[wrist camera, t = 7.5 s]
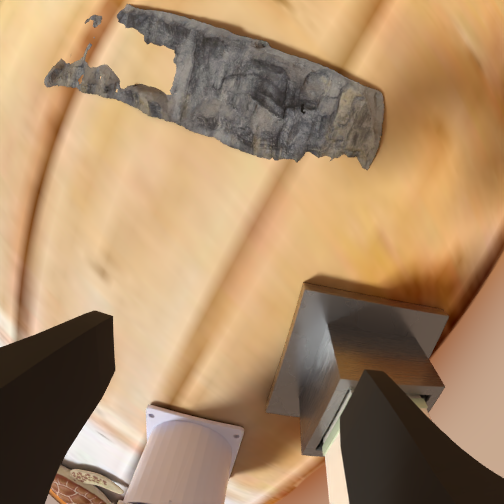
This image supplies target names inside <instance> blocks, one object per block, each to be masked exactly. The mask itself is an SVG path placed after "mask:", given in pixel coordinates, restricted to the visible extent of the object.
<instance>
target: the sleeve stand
mask: <svg viewBox="0 0 504 504" xmlns="http://www.w3.org/2000/svg"><path fill="white" fill-rule="evenodd" d="M448 318H449V315H448V314H447V313H446V312H445V311H444V310H443V309H439V308H433V307H428V306H423V305H417V304H412V303H406V302H401V301H396V300H391V299H385V298H380V297H375V296H370V295H365V294H359V293H354V292H349V291H344V290H339V289H334V288H329V287H324V286H319V285H314V284H309V283H304V282H303V285H302V289H301V293H300V296H299V300H298V303H297V306H296V310H295V313H294V317H293V320H292V324H291V327H290V330H289V334H288V337H287V340H286V343H285V347H284V350H283V353H282V356H281V359H280V363H279V366H278V369H277V372H276V375H275V378H274V381H273V384H272V387H271V390H270V393H269V396H268V399H267V402H266V412H267V413H273V414H279V415H286V416H294V417H300V428H301V451H302V455H308V456H321V457H325V456H323V451H322V446H323V444H324V442H323V435H324V434H325V432H326V430H327V428H328V427H329V425H330V423H331V421H332V419H333V417H334V415H335V414H336V412H337V410H338V408H339V406H340V404H341V402H342V400H343V398H344V396H345V394H346V392H347V390H354V389H355V387H356V385H357V383H358V381H359V379H360V377H361V375H362V373H363V371H364V369H368V370H377V371H383V372H385V373H386V374H387V375H388V376H389V377H390V378H391V379H392V380H393V381H394V382H395V383H396V384H397V385H398V386H399V387H400V388H401V389H402V390H403V391H404V392H405V393H406V394H415V395H420V396H421V398H422V399H424V400H425V402H426V404H427V406H428V408H427V411H428V412H429V411H430V410H431V408H432V407H433V405H434V404H435V402H436V401H437V399H438V397H439V396H440V394H441V393H442V391H443V389H444V388H445V386H444V384H443V382H442V381H441V379H440V377H439V376H438V374H437V372H436V371H435V369H434V367H433V365H432V364H431V363H430V360H429V357H430V355H431V353H432V351H433V349H434V347H435V345H436V343H437V341H438V339H439V337H440V335H441V333H442V331H443V329H444V327H445V324H446V322H447V320H448Z"/></svg>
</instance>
